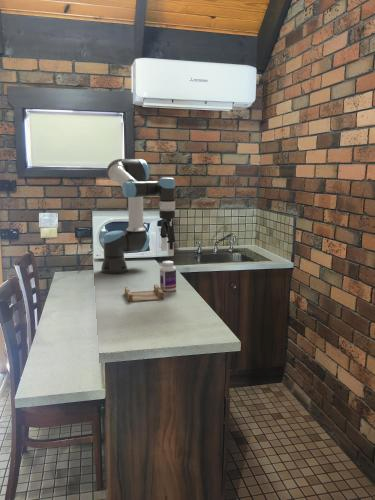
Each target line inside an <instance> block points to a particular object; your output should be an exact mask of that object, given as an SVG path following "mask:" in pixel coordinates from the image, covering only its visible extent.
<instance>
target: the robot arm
mask: <svg viewBox="0 0 375 500" xmlns="http://www.w3.org/2000/svg"><path fill="white" fill-rule="evenodd" d="M106 174H107V177H108V178H109V179H110V180H112V181H113V182H116V183H117V184H118V185H120V187H121V191H122V195H123V197H125V198H127V199H128V201H127V203H128V227H127V228H125V229H126V231H125V232H124V231H123V230H112V231H108V232H106V233H105V234H104V235H103V241H102V243H103V262H102V264H101V268H100V269H101V270H100V272H101V273H102V274H107V275H114V274H115V275H117V274H123V273H124V274H125V273H126V272H128V265H127V262H126V259H125V253H126V254H127V253H137V252H139V253H140V252H145V251H146V250H148V248H149V245H150V239H151V238H150V234H149V232H148V231H147V229H146V228H145V226H144V198H147V197H149V198H151V197H153V198H154V197H157V198H158V197H159V198H158V199H159V200H158V201H159V203H158V204H157V205H158V206H159V209H160V210H159V215H158V217H159V219H161V224H160V233H159V235H160V238H161V239H160V241H161V247H160V248H161V252H164V251H167V256H168V257H173V256H175V254H174V253H175V252H174V251H175V250H174V249H175V247H174V245H175V242H176V237H175V230H174V221H172V219H175V218H176V181H175V178H174V177H160V178H159V179H158V180H154V181H152V180H151V181H147V180H148V179H149V177H150V168H149V166H148V163H147V161H146V160H144V159H141V158H117V159H114V160H112V161H111V162H110V163H109V164H108V165H107V167H106Z"/></svg>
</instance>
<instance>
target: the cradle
mask: <svg viewBox="0 0 375 500" xmlns="http://www.w3.org/2000/svg"><path fill="white" fill-rule="evenodd" d="M164 292H165V291H162V290H161V289H160V285H158V284H153V290H152V289H151V290H142V291H131V290H130V288H129V287H128V286H124V295H125V297H126V300H127V301H128V303H129V302H131V303H140V302H143V303H144V302H152V301H153V302H154V301H163V300H164V299H165V298H164Z"/></svg>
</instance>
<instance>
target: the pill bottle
mask: <svg viewBox="0 0 375 500" xmlns="http://www.w3.org/2000/svg"><path fill="white" fill-rule="evenodd" d="M161 263H162V265H161V266H160V268H159V275H160V276H159V278H160V279H159V284H160V285H159V288H160V289H161V290H162V291H163V292H174V291H175V290H176V289H177V267H176V266H175V265H174V261H173V260H163V261H162V262H161Z"/></svg>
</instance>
